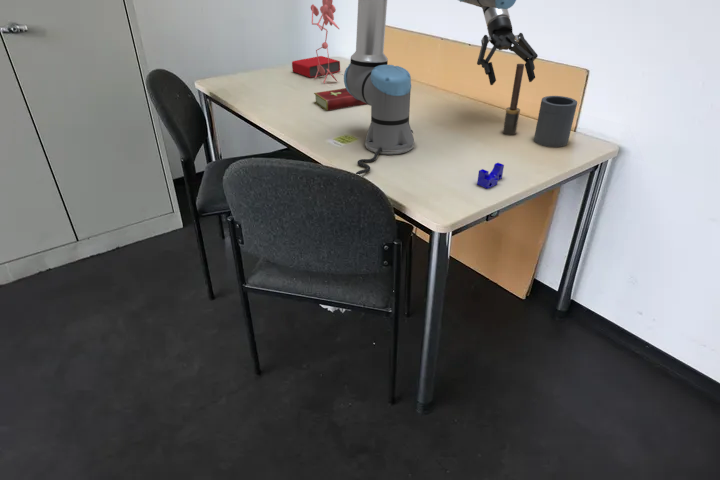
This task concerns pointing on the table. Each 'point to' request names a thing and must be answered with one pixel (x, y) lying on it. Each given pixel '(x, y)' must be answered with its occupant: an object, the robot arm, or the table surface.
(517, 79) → the brush
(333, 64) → the audio interface
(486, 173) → the cable holder
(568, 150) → the table surface
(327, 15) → the figurine
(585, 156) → the table surface
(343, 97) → the hardcover book
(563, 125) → the grey cylindrical holder
